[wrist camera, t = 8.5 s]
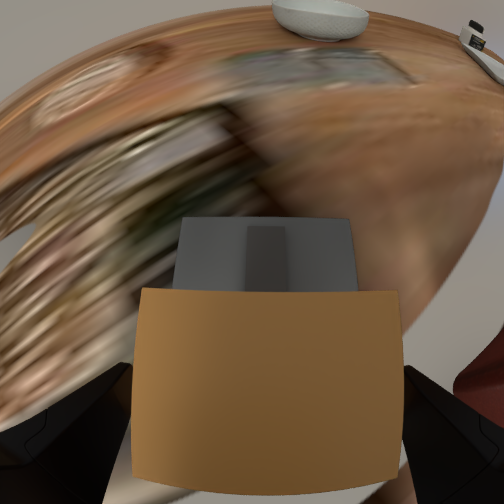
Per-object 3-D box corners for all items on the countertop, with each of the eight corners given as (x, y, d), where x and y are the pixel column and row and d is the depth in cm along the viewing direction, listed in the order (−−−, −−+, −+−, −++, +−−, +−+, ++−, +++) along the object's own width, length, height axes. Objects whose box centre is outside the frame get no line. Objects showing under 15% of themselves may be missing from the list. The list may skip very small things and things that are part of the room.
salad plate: (492, 83, 37) (497, 74, 34) (457, 48, 46) (460, 40, 43) (532, 108, 36) (537, 101, 33) (499, 70, 45) (502, 64, 42)
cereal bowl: (328, 22, 42) (331, -4, 35) (381, 52, 35) (388, 20, 29) (256, 26, 39) (255, -4, 33) (303, 54, 33) (306, 15, 26)
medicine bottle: (467, 47, 49) (476, 22, 38) (458, 39, 52) (465, 15, 41) (481, 55, 48) (490, 31, 37) (471, 46, 51) (479, 23, 40)
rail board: (355, 435, 14) (360, 438, 13) (167, 432, 14) (162, 435, 13) (345, 225, 20) (348, 218, 19) (185, 224, 20) (182, 217, 20)
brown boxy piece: (314, 426, 13) (420, 515, 2) (210, 425, 14) (102, 513, 3) (310, 229, 19) (351, 66, 8) (221, 228, 19) (183, 65, 8)
